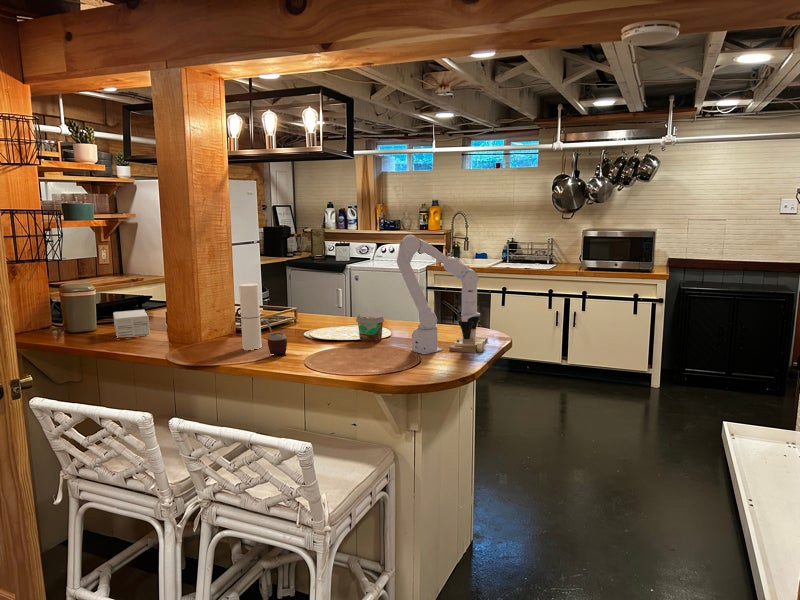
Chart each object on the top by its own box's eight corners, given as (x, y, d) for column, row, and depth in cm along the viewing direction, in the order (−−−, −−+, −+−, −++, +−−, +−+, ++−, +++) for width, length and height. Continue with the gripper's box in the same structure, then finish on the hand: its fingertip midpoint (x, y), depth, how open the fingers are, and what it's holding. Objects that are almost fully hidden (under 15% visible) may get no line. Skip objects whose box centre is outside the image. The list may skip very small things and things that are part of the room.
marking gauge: (481, 351, 215) (481, 332, 214) (453, 349, 219) (453, 330, 218) (485, 348, 221) (485, 329, 220) (458, 346, 225) (458, 327, 224)
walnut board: (475, 352, 215) (475, 348, 215) (449, 350, 219) (449, 346, 219) (487, 341, 234) (487, 337, 233) (463, 339, 237) (463, 335, 237)
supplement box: (114, 332, 260) (112, 312, 258) (146, 329, 266) (144, 309, 264) (116, 340, 245) (114, 318, 243) (150, 336, 251) (148, 315, 250)
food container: (350, 341, 237) (350, 317, 235) (358, 338, 242) (358, 314, 240) (377, 344, 231) (376, 319, 229) (384, 340, 236) (384, 316, 235)
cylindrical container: (249, 351, 222) (245, 286, 218) (239, 348, 227) (235, 285, 222) (265, 347, 227) (262, 284, 223) (254, 345, 232) (251, 283, 228)
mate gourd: (290, 353, 218) (288, 314, 216) (282, 358, 210) (280, 318, 208) (271, 352, 219) (269, 313, 217) (263, 358, 212) (261, 317, 209)
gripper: (475, 305, 209) (474, 341, 211) (484, 298, 222) (484, 333, 225) (456, 304, 212) (456, 340, 214) (466, 298, 225) (466, 332, 227)
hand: (469, 336), depth 219 cm, fingers open, 7 cm apart
